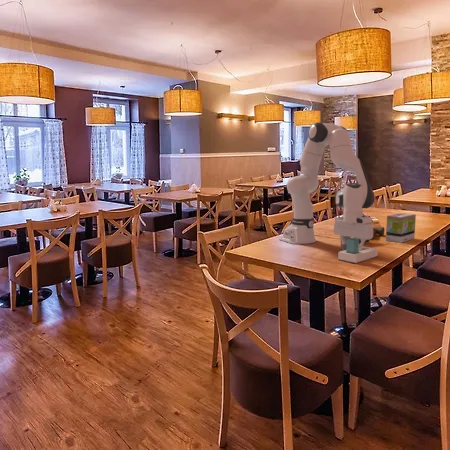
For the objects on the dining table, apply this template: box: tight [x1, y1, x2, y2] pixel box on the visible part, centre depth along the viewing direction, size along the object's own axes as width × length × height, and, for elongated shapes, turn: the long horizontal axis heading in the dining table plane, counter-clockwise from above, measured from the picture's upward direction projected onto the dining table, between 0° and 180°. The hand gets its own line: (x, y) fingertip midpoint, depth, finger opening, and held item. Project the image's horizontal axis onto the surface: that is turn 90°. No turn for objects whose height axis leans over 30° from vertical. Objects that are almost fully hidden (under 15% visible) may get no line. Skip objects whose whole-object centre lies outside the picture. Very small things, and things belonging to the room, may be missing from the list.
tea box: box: [385, 212, 417, 244], centre depth 239 cm, size 15×10×15 cm, turn 129°
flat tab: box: [340, 236, 352, 251], centre depth 215 cm, size 2×6×9 cm, turn 128°
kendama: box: [371, 226, 385, 240], centre depth 252 cm, size 6×10×20 cm
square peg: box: [347, 237, 359, 254], centre depth 200 cm, size 4×4×10 cm
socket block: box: [337, 245, 379, 265], centre depth 204 cm, size 10×18×4 cm, turn 128°
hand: (352, 245), depth 200 cm, fingers open, 8 cm apart
